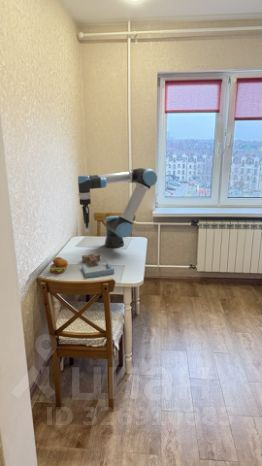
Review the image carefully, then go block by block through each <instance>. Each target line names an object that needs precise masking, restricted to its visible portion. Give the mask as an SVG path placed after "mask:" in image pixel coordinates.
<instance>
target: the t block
mask: <svg viewBox="0 0 262 466" xmlns="http://www.w3.org/2000/svg"><path fill="white" fill-rule="evenodd" d="M99 261H101V254H100V253H99V252H98V253H92V254H91V253H90V254H83V255H81V262H82V264H85V263H89V265H90V266H91V267H95V266H98V262H99Z"/></svg>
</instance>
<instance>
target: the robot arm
mask: <svg viewBox="0 0 262 466" xmlns="http://www.w3.org/2000/svg"><path fill="white" fill-rule="evenodd" d="M157 181H158V176H157V173H156V171H155V170H154V169H151V168H142V167H139V168H134V169H133V168H132V169H127V170H126V171H122V172H111V173H104V174H103V173H102V174H95V175H94V174H93V175H88V174H83V175H78V177H77V184H78V185H77V186H78V197H79V205H81V206H82V207H81V208H82V217H83V223H84V232H85V233H89V232H90V225H89V223H90V207H89V205H91V202H92V201H91V190H93V189H94V190H95V189H103V188H106V187H107V186H108V185H112V184H121V183H128V184H129V183H130V184H131V183H134V184H135V188H134V189H133V190H132V193H131V196H130V198H129V200H128V202H127V204H126V206H125V207H124V209H123V212H122V213H121V215H110V216H106V218H105V228H106V237H105V241H104V246H105V248H109V249H110V248H111V249H116V248H121V247H123V246H124V245H125V240H124V238H128V237H129V236H131V234H132V233H133V230H134V229H133V225H134V221H133V219H134V218H135V216H136V213H137V212H138V210H139V207H140V206H141V204H142V202H143V199H144V197H145V195H146V193H147V192H148V191H149V190H150V189H151V188H152V187H153V186H154V185H156V184H157Z"/></svg>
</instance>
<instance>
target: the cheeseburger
mask: <svg viewBox="0 0 262 466" xmlns="http://www.w3.org/2000/svg"><path fill="white" fill-rule="evenodd" d="M52 262H53V263H52V264H51V265H50V267H49V270H48V271H49V272H51V273H52V274H53V273H54V274H61V273H64V272H65V271H66V269H67V267H68V261H67V260H66V259H64V258H61V257H60V256H57V257H55V258H54V259H52Z"/></svg>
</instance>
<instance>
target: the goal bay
mask: <svg viewBox="0 0 262 466" xmlns="http://www.w3.org/2000/svg"><path fill="white" fill-rule="evenodd" d="M105 266H106V267H107V268H105V269H99V270H92V271H87V270H86V268H85V266H84V265H81V269H82V271H83V272H82V273H83V274H84V276H85V278H94V277H95V278H96V277H99V276H106V275H114V274H115V268H114V267H112V265H111V264H110V263H109V262H108V261H106V262H105Z"/></svg>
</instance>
